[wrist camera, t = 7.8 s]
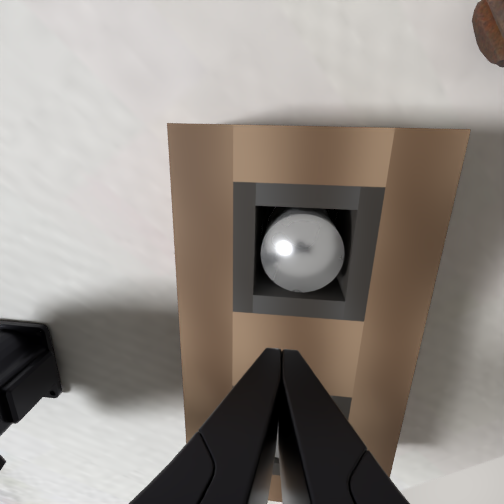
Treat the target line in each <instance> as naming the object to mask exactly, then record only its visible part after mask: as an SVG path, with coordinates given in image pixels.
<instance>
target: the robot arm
mask: <svg viewBox="0 0 504 504" xmlns="http://www.w3.org/2000/svg"><path fill="white" fill-rule="evenodd" d="M61 393H62V388H61V383H60V379H59V374H58V369H57V365H56V360H55V356H54V351H53V346H52V342H51V337H50V333H49V329H48V328H47V326H45V325H43V324H33V323H22V322H10V321H0V436H1V435H2V434H3V433H4V432H5V431H6V430H7V429H8V427H9V426H10V425H11V424H12V423H18V422H19V421H20V420H21V419H22V418H23V417H24V416H25V415H26V414H27V413H28V412H29V411H30V410H31V409H32V408H33V407H34V406H35V405H36V404H37V402H38V401H39V400H40V399H41V398H42V397H48V398H57V397H58V396H59V395H60V394H61ZM277 435H278V451H279V464H280V477H281V490H282V502H283V504H410V503H409V502H408V501H407V500H406V499H405V497H404V496H403V495H402V494H401V492H400V491H399V490H398V489H397V487H396V486H395V485H394V483H393V482H392V481H391V479H390V478H389V477H388V475H387V474H386V473H385V471H384V470H383V469H382V467H381V466H380V465H379V463H378V462H377V460H376V459H375V458H374V456H373V455H372V453H371V452H370V451H369V450H367V447H366V445H365V444H364V442H363V441H362V439H361V438H360V437H359V435H358V434H357V432H356V431H355V430H354V428H353V427H352V425H351V424H350V423H349V421H348V420H347V418H346V417H345V416H344V414H343V413H342V411H341V410H340V409H339V407H338V406H337V404H336V403H335V402H334V400H333V399H332V397H331V396H330V395H329V393H328V392H327V390H326V389H325V388H324V386H323V385H322V383H321V382H320V381H319V379H318V378H317V376H316V375H315V374H314V372H313V371H312V369H311V368H310V366H309V365H308V364H307V362H306V361H305V359H304V358H303V357H302V355H301V354H300V352H299V351H298V350H291V349H283V350H282V351H281V349H279V348H265V350H264V351H263V352H262V353H261V354H260V356H259V357H258V358H257V359H256V360H255V362H254V363H253V364H252V365H251V367H250V368H249V369H248V370H247V371H246V373H245V374H244V375H243V376H242V377H241V379H240V380H239V381H238V382H237V383H236V385H235V386H234V387H233V388H232V390H231V391H230V392H229V393H228V394H227V396H226V397H225V398H224V399H223V400H222V402H221V403H220V404H219V405H218V406H217V408H216V409H215V410H214V411H213V413H212V414H211V415H210V416H209V417H208V419H207V420H206V421H205V422H204V423H203V425H202V426H201V427H200V428H199V430H198V432H196V433H195V434H194V435H193V437H192V438H191V439H190V440H189V441H188V443H187V444H186V445H185V446H184V447H183V448H182V450H181V451H180V452H179V453H178V454H177V455H176V456H175V458H174V459H173V460H172V461H171V462H170V463H169V464H168V465H167V466H166V467H165V468H164V469H163V470H162V471H161V472H160V473H159V474H158V475H157V476H156V477H155V478H154V479H153V480H152V481H151V482H150V483H149V485H148V486H146V487H145V488H144V489H143V490H142V491H141V492H140V493H139V494H138V495H137V496H136V497H135V498H134V499H133V500H132V501H131V502H130V503H129V504H267V502H268V496H269V490H270V483H271V477H272V471H273V465H274V459H275V452H276V445H277ZM5 463H6V460H5V459H4V458H3V457H2V456H1V455H0V470H1V469H2V467H3V466H4V464H5Z"/></svg>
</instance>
